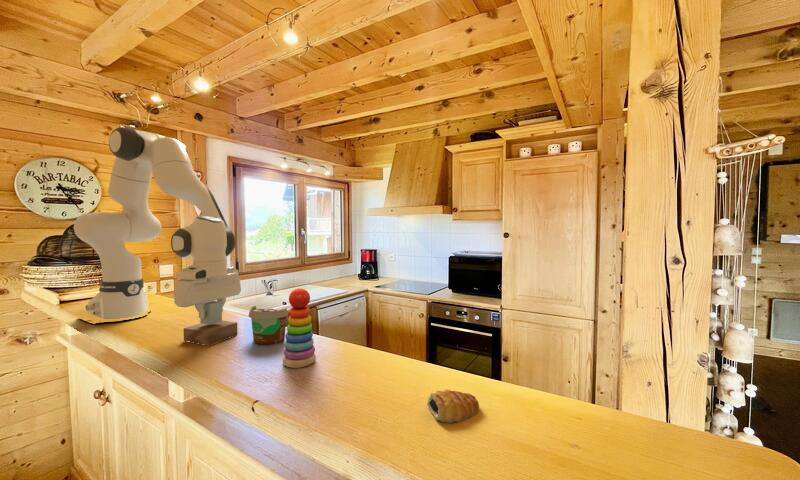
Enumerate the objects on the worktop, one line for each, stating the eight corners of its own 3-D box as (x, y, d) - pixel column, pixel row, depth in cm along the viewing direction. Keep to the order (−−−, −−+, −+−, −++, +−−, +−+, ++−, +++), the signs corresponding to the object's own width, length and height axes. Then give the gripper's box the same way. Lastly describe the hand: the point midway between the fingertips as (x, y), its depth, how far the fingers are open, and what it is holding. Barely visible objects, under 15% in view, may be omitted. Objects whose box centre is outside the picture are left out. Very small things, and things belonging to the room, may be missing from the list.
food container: (239, 344, 92) (238, 310, 92) (254, 337, 98) (254, 305, 98) (274, 349, 89) (274, 313, 88) (288, 341, 95) (288, 308, 94)
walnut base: (183, 341, 94) (183, 328, 94) (213, 331, 104) (213, 319, 104) (209, 345, 91) (209, 332, 91) (237, 334, 101) (237, 322, 100)
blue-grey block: (200, 323, 96) (200, 303, 96) (212, 319, 100) (211, 300, 100) (210, 324, 95) (210, 304, 95) (221, 321, 98) (221, 301, 98)
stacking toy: (275, 365, 79) (274, 289, 78) (299, 353, 86) (299, 284, 85) (299, 371, 75) (298, 292, 74) (322, 359, 82) (322, 287, 81)
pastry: (467, 399, 64) (467, 380, 64) (487, 418, 57) (487, 397, 57) (424, 407, 61) (424, 387, 60) (440, 428, 54) (440, 406, 54)
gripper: (230, 265, 108) (230, 306, 108) (169, 273, 88) (170, 323, 89) (245, 266, 106) (245, 308, 106) (186, 275, 86) (187, 325, 87)
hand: (211, 315), depth 97 cm, fingers closed on blue-grey block, 4 cm apart
